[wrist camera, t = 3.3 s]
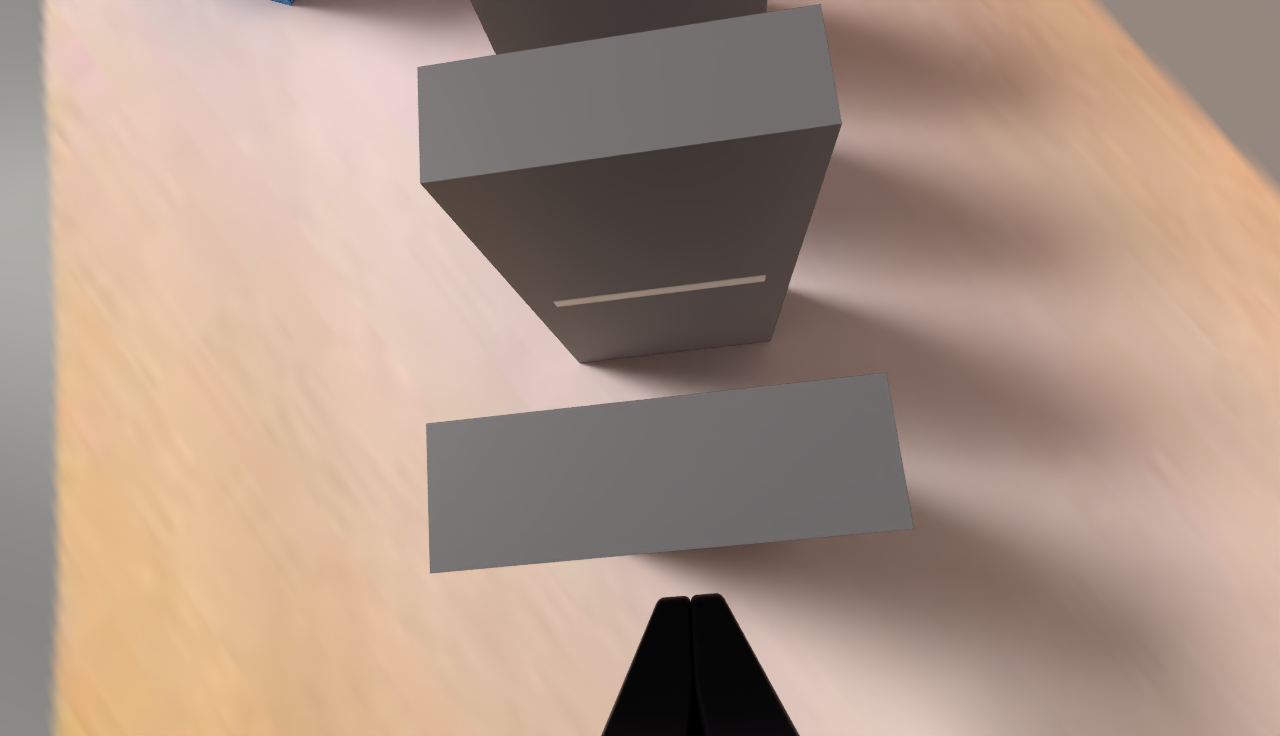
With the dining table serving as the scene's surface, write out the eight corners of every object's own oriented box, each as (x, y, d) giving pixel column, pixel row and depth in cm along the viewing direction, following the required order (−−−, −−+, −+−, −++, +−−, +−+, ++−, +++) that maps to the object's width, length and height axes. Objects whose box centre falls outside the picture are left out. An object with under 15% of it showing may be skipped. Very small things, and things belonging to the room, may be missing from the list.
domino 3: (795, 520, 16) (914, 530, 7) (593, 538, 17) (430, 575, 7) (785, 452, 17) (885, 370, 7) (587, 472, 17) (426, 422, 8)
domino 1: (747, 182, 18) (787, -186, 9) (567, 207, 19) (413, -120, 9) (740, 128, 19) (770, -283, 9) (563, 153, 19) (410, -215, 9)
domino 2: (769, 341, 17) (841, 125, 8) (579, 363, 18) (420, 184, 8) (761, 281, 18) (819, 2, 8) (575, 304, 18) (417, 66, 9)
